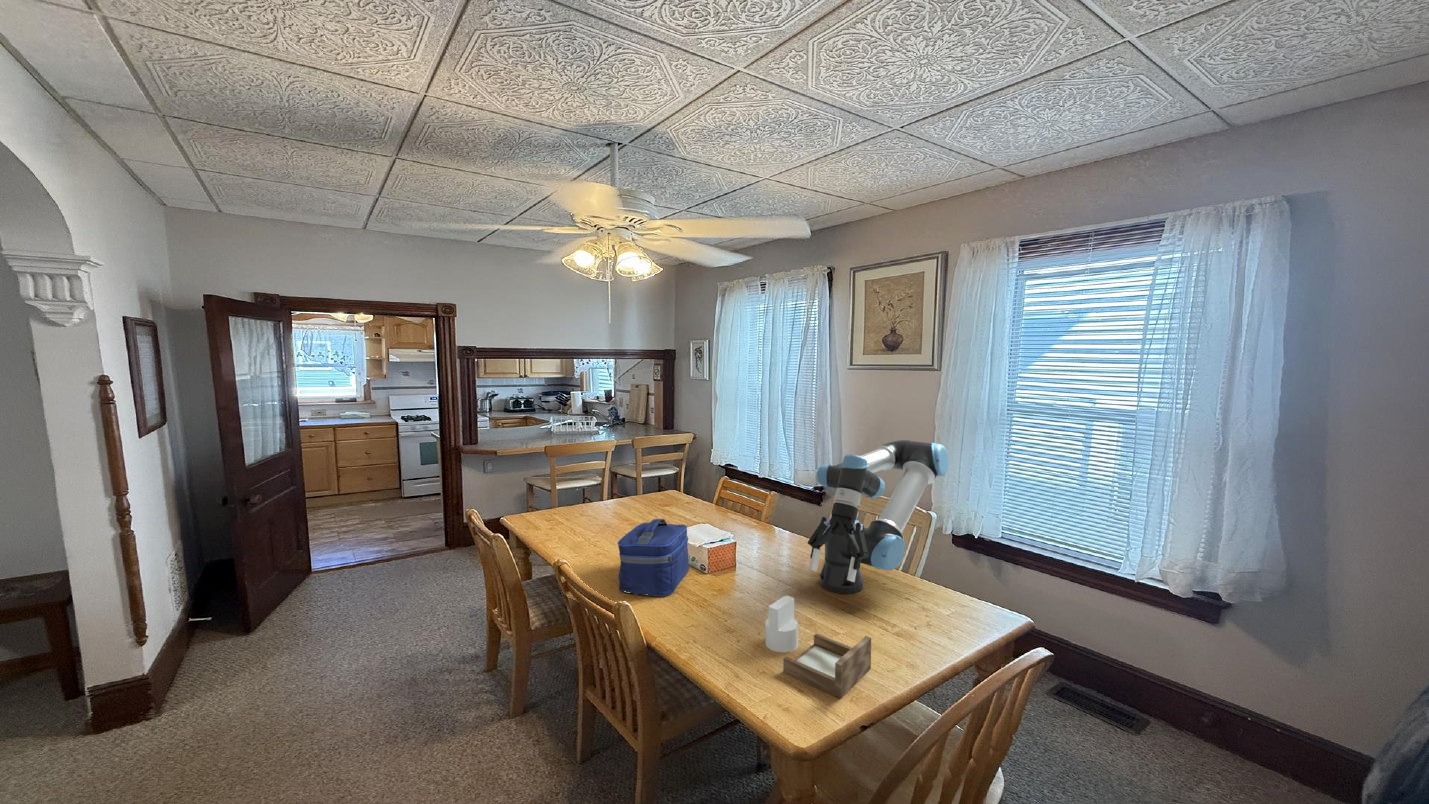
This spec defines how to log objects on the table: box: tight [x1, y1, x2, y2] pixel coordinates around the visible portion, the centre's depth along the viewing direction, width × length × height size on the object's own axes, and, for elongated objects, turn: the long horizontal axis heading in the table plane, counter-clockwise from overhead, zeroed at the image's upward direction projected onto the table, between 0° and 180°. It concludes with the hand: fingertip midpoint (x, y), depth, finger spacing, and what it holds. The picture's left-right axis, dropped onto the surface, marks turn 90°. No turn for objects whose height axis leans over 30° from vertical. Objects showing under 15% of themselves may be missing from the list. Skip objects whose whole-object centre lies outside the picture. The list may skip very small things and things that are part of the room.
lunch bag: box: [617, 518, 690, 597], centre depth 190 cm, size 31×21×20 cm
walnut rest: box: [782, 633, 872, 700], centre depth 133 cm, size 16×16×8 cm
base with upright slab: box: [765, 595, 799, 654], centre depth 145 cm, size 9×9×12 cm
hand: (831, 575), depth 153 cm, fingers open, 13 cm apart
